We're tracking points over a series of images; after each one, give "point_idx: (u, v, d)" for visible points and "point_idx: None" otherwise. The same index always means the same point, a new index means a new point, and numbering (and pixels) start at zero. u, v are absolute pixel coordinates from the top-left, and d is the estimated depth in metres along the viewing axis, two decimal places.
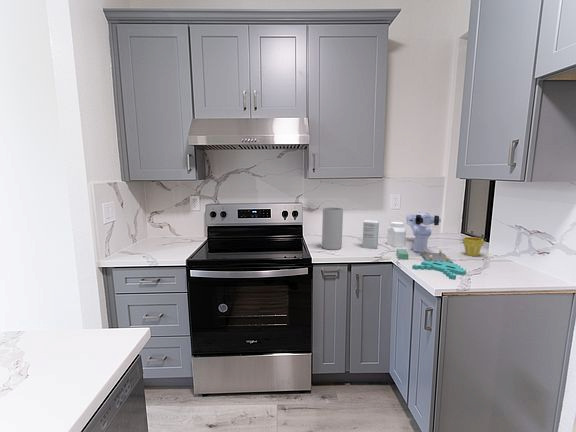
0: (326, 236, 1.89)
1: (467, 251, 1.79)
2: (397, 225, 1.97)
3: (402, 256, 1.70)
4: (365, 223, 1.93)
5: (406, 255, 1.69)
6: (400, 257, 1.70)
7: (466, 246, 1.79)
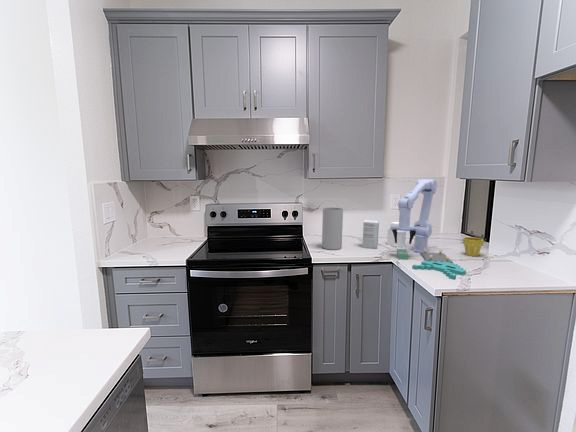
0: (326, 236, 1.89)
1: (467, 251, 1.79)
2: (397, 225, 1.97)
3: (402, 256, 1.70)
4: (365, 223, 1.93)
5: (406, 255, 1.69)
6: (400, 257, 1.70)
7: (466, 246, 1.79)
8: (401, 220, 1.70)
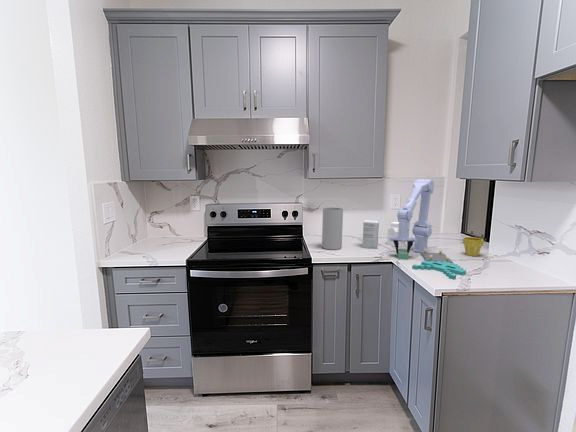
0: (326, 236, 1.89)
1: (467, 251, 1.79)
2: (397, 225, 1.97)
3: (402, 256, 1.70)
4: (365, 223, 1.93)
5: (406, 255, 1.69)
6: (400, 257, 1.70)
7: (466, 246, 1.79)
8: (400, 231, 1.71)
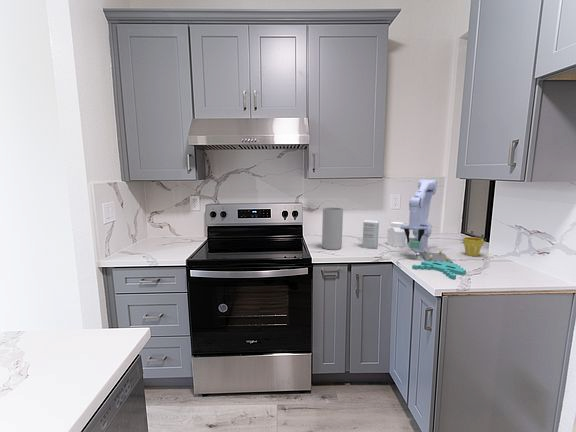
0: (326, 236, 1.89)
1: (467, 251, 1.79)
2: (397, 225, 1.97)
3: (413, 244, 1.68)
4: (365, 223, 1.93)
5: (417, 243, 1.67)
6: (411, 245, 1.68)
7: (466, 246, 1.79)
8: (411, 219, 1.70)
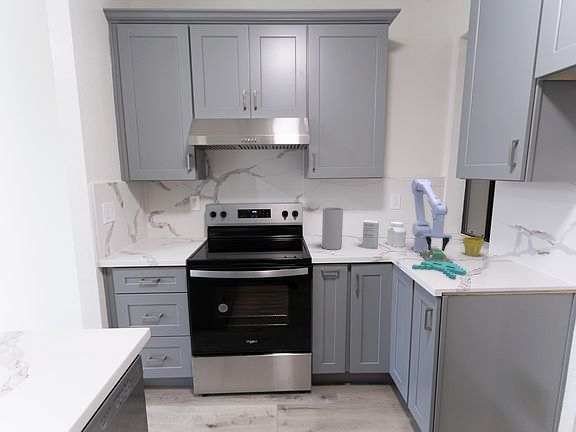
0: (326, 236, 1.89)
1: (467, 251, 1.79)
2: (397, 225, 1.97)
3: (437, 255, 1.67)
4: (365, 223, 1.93)
5: (441, 254, 1.66)
6: (435, 256, 1.67)
7: (466, 246, 1.79)
8: (435, 227, 1.68)
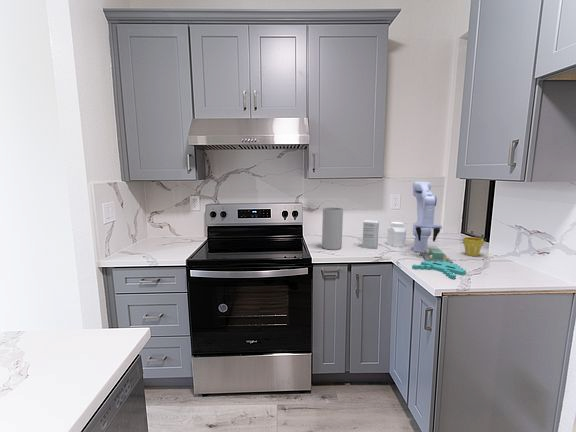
0: (326, 236, 1.89)
1: (467, 251, 1.79)
2: (397, 225, 1.97)
3: (437, 255, 1.67)
4: (365, 223, 1.93)
5: (441, 254, 1.66)
6: (435, 256, 1.67)
7: (466, 246, 1.79)
8: (425, 218, 1.70)
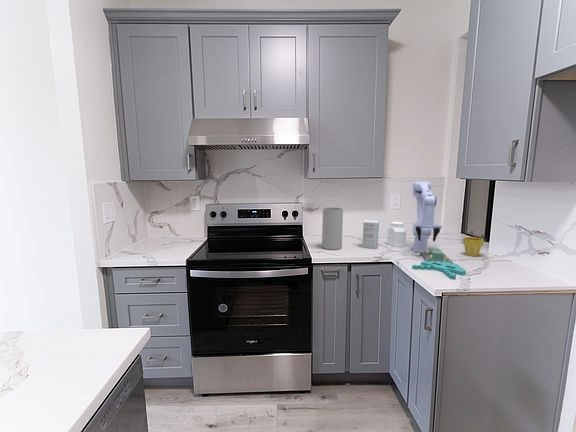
0: (326, 236, 1.89)
1: (467, 251, 1.79)
2: (397, 225, 1.97)
3: (437, 255, 1.67)
4: (365, 223, 1.93)
5: (441, 254, 1.66)
6: (435, 256, 1.67)
7: (466, 246, 1.79)
8: (425, 218, 1.70)
